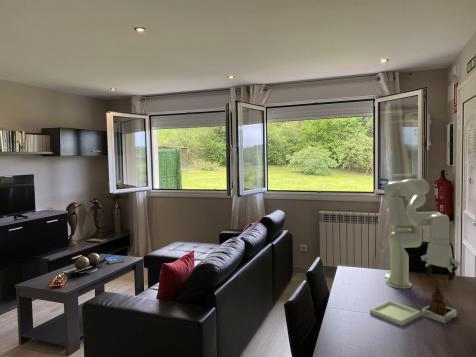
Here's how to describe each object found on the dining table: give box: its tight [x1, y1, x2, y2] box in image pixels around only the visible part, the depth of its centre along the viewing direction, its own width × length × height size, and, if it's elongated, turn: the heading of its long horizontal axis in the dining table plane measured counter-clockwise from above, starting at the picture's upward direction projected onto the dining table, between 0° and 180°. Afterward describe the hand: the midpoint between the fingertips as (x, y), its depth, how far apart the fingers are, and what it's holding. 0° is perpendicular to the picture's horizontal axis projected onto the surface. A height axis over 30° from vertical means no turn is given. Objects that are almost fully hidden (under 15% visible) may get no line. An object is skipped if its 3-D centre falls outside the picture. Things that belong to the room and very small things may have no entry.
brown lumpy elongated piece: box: [428, 285, 447, 315], centre depth 170 cm, size 7×6×15 cm
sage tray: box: [369, 300, 421, 327], centre depth 172 cm, size 16×16×2 cm
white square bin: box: [420, 305, 457, 324], centre depth 170 cm, size 10×11×3 cm
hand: (439, 277), depth 168 cm, fingers open, 9 cm apart
